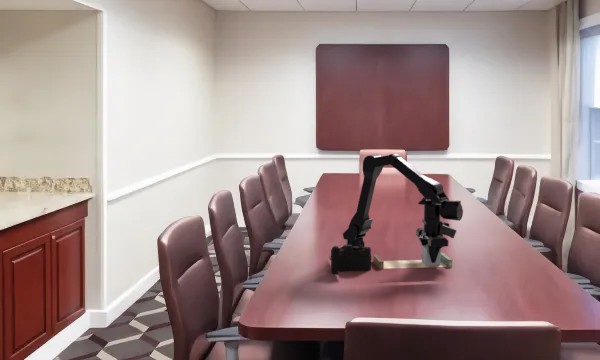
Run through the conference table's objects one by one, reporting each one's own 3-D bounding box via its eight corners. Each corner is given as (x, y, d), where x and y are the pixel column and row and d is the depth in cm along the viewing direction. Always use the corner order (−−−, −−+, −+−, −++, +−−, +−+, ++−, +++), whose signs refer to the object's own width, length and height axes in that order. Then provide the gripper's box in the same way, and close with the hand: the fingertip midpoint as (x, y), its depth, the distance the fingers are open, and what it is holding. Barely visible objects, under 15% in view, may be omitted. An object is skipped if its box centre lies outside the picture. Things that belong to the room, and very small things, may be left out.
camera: (367, 266, 201) (367, 238, 200) (372, 274, 190) (372, 245, 189) (328, 266, 200) (328, 239, 199) (331, 275, 190) (331, 246, 188)
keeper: (426, 265, 197) (426, 246, 196) (421, 261, 202) (422, 242, 201) (440, 265, 197) (440, 245, 196) (435, 261, 203) (435, 242, 202)
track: (379, 271, 193) (379, 261, 193) (373, 263, 203) (373, 254, 203) (452, 269, 195) (452, 259, 195) (442, 261, 205) (442, 252, 205)
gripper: (463, 222, 189) (462, 267, 191) (445, 212, 207) (444, 253, 209) (431, 222, 188) (430, 267, 190) (416, 213, 207) (415, 254, 208)
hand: (431, 260), depth 199 cm, fingers closed on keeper, 5 cm apart
